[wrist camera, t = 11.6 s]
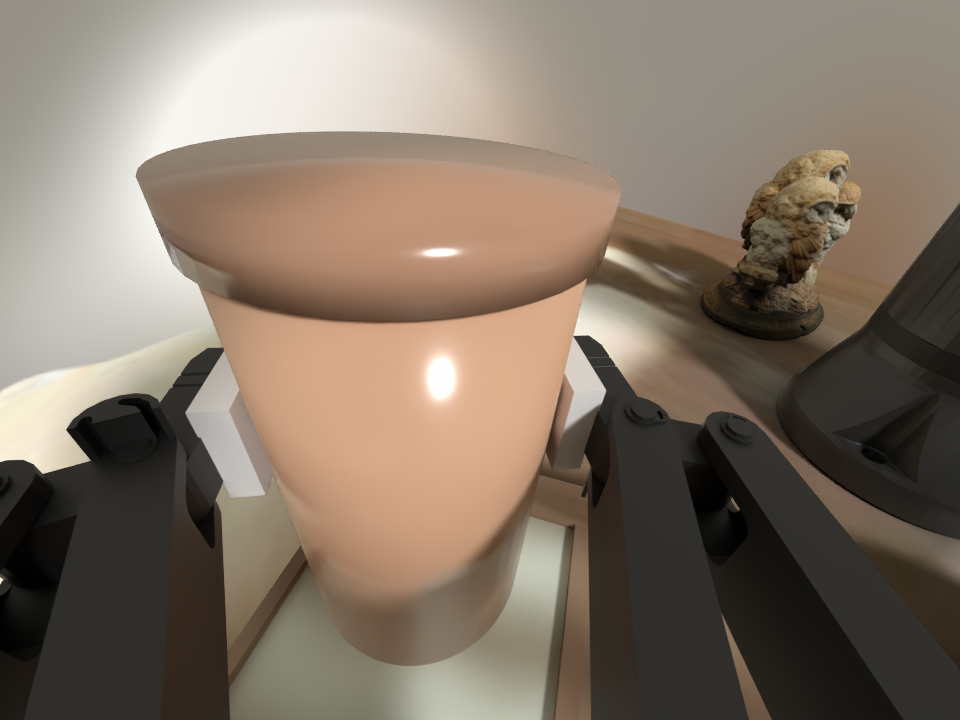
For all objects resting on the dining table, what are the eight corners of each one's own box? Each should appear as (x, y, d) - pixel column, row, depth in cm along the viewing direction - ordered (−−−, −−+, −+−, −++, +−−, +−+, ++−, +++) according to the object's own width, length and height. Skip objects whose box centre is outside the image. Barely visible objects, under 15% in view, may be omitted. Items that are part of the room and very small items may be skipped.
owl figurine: (790, 362, 38) (915, 173, 28) (675, 314, 45) (741, 147, 35) (833, 307, 48) (936, 153, 38) (733, 274, 55) (798, 136, 45)
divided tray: (371, 481, 25) (361, 426, 22) (754, 597, 20) (808, 548, 17) (218, 728, 15) (164, 691, 12) (865, 1035, 11) (1022, 1093, 8)
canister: (381, 450, 18) (338, 123, 10) (538, 497, 17) (624, 155, 9) (264, 621, 12) (-22, 171, 5) (490, 718, 11) (613, 287, 3)
